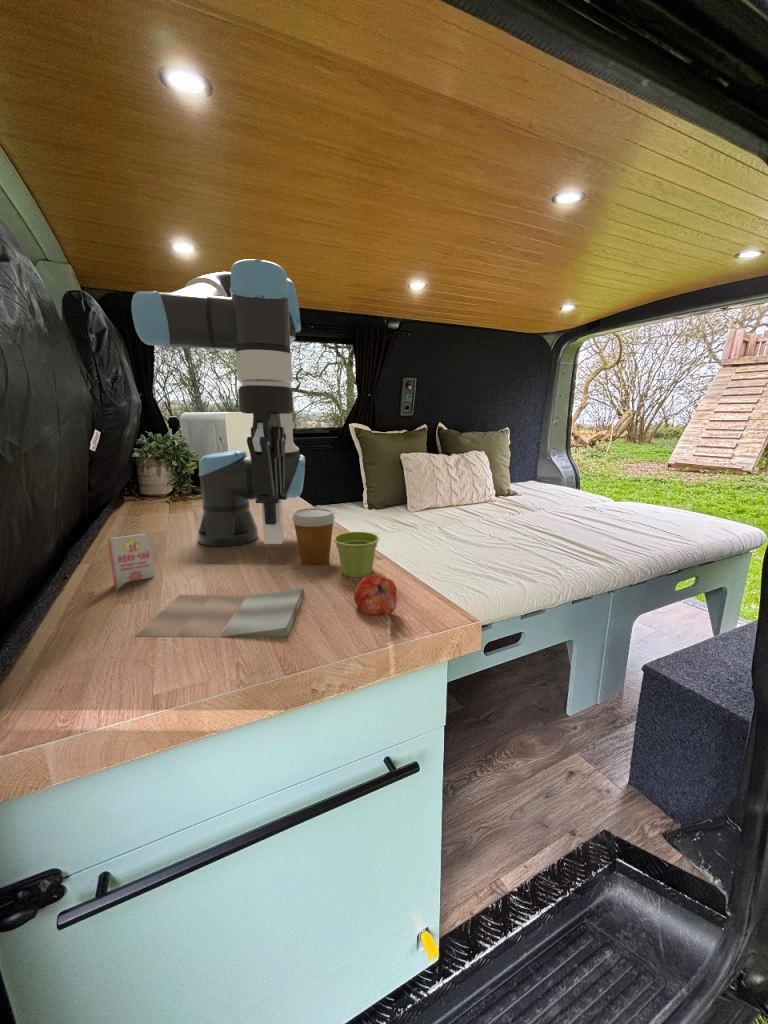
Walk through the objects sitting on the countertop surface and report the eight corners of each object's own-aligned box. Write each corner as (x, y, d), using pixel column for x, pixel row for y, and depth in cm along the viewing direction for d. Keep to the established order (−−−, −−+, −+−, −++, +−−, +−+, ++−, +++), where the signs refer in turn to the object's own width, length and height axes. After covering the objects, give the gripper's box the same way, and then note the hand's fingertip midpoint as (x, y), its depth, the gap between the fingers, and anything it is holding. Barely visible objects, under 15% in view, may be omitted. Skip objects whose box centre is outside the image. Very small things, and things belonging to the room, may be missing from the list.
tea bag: (115, 583, 81) (108, 536, 78) (154, 577, 84) (148, 531, 82) (115, 590, 78) (107, 541, 75) (155, 583, 81) (149, 535, 79)
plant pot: (325, 576, 86) (324, 537, 83) (357, 565, 92) (357, 528, 90) (355, 590, 79) (355, 548, 77) (388, 576, 86) (388, 537, 84)
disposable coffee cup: (343, 565, 92) (342, 513, 89) (304, 573, 87) (302, 519, 84) (324, 553, 100) (323, 505, 97) (287, 560, 95) (285, 510, 92)
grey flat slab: (250, 602, 74) (248, 595, 73) (304, 594, 74) (302, 587, 73) (221, 645, 60) (219, 636, 60) (287, 636, 60) (285, 627, 60)
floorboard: (180, 601, 74) (179, 594, 73) (246, 602, 74) (246, 595, 73) (135, 645, 60) (134, 636, 60) (217, 645, 60) (216, 636, 60)
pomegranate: (350, 621, 72) (354, 611, 63) (352, 580, 75) (357, 565, 66) (391, 623, 73) (401, 614, 64) (392, 583, 76) (402, 569, 67)
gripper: (252, 387, 64) (261, 530, 70) (222, 381, 52) (236, 556, 57) (300, 388, 65) (305, 530, 70) (281, 382, 52) (289, 556, 58)
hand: (274, 542), depth 64 cm, fingers closed
